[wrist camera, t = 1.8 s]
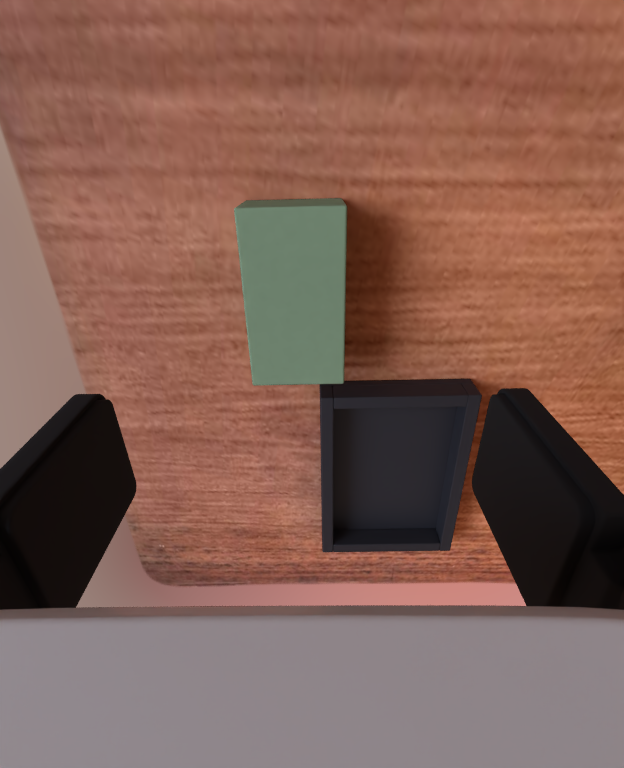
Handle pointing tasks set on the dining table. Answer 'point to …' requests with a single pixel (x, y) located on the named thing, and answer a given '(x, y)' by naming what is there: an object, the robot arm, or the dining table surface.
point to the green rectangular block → (294, 288)
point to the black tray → (394, 462)
